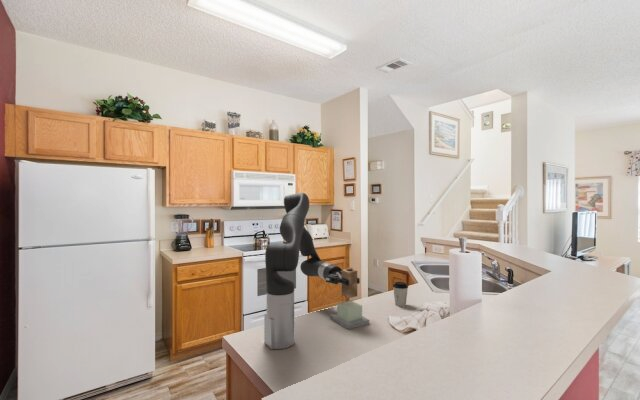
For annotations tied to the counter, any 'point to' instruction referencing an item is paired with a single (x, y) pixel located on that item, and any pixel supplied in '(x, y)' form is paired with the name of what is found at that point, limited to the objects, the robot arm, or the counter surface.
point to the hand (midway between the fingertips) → (353, 282)
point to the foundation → (349, 315)
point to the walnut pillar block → (350, 283)
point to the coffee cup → (400, 293)
